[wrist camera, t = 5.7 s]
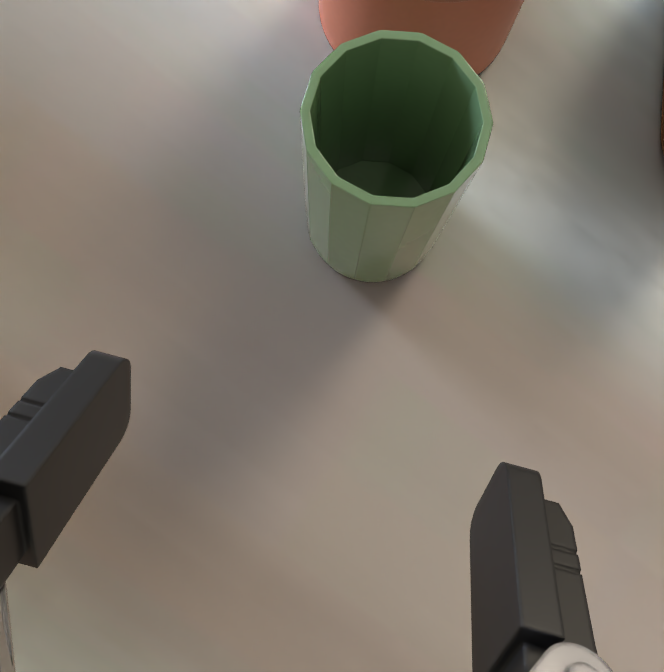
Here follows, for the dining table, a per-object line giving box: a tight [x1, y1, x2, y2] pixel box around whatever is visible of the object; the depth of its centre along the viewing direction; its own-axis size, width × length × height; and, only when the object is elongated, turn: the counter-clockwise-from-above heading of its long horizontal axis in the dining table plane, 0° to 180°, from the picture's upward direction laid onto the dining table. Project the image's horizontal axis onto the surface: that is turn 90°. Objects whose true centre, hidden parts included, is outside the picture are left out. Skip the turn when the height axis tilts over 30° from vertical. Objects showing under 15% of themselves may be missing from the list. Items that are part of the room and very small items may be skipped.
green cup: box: [300, 30, 493, 282], centre depth 26 cm, size 6×7×10 cm
